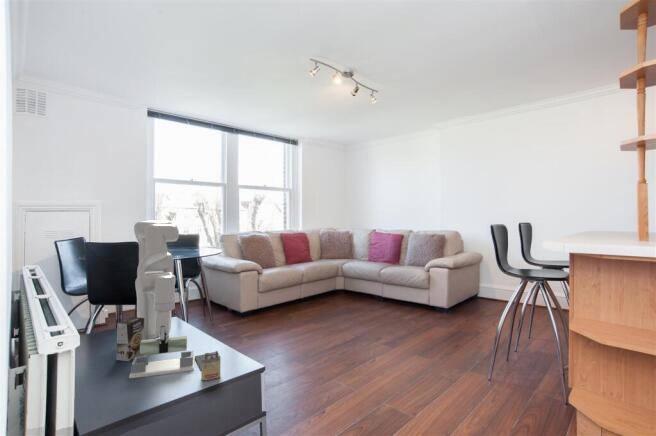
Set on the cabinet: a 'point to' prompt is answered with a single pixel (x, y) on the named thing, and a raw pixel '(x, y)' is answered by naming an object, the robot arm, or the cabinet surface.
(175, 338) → the rail
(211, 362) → the worn yellow tin
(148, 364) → the bracket board
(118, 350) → the coffee box
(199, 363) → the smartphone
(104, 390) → the cabinet surface
